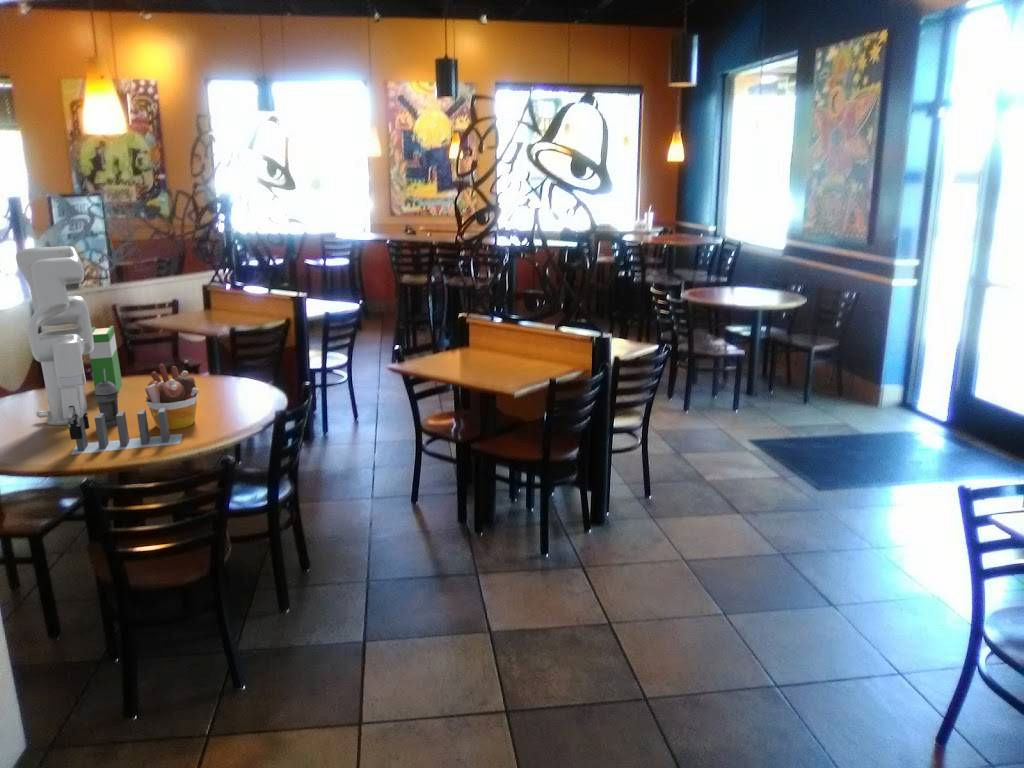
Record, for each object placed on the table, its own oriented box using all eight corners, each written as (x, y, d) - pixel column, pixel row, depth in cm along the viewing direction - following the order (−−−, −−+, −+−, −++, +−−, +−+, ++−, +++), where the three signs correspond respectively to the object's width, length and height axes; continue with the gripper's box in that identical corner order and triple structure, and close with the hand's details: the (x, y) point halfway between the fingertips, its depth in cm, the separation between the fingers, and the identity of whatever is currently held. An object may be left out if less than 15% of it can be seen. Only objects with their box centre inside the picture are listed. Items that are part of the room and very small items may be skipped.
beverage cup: (116, 421, 281) (108, 364, 276) (127, 425, 276) (118, 367, 271) (95, 426, 276) (86, 369, 270) (105, 430, 271) (96, 372, 266)
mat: (70, 456, 247) (70, 454, 247) (77, 445, 257) (77, 444, 256) (179, 445, 255) (179, 443, 255) (183, 435, 265) (182, 433, 265)
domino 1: (77, 451, 250) (72, 420, 247) (81, 446, 255) (76, 415, 252) (84, 450, 250) (79, 419, 248) (87, 445, 255) (82, 414, 252)
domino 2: (99, 449, 251) (94, 418, 249) (102, 444, 256) (97, 413, 253) (105, 448, 252) (100, 417, 249) (108, 443, 257) (104, 412, 254)
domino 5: (162, 442, 256) (157, 412, 254) (164, 437, 261) (159, 407, 258) (168, 442, 257) (164, 411, 254) (170, 437, 261) (166, 407, 259)
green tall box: (101, 386, 327) (92, 327, 321) (122, 384, 329) (113, 325, 323) (96, 397, 311) (86, 335, 305) (117, 395, 313) (108, 333, 307)
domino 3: (120, 447, 253) (115, 416, 250) (123, 441, 258) (118, 411, 255) (126, 446, 254) (122, 415, 251) (129, 441, 258) (124, 411, 256)
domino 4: (141, 444, 255) (137, 414, 252) (143, 439, 259) (139, 409, 257) (147, 444, 255) (143, 413, 252) (149, 439, 260) (145, 409, 257)
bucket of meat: (208, 428, 271) (201, 370, 266) (155, 438, 262) (147, 378, 257) (193, 414, 287) (186, 359, 282) (143, 422, 279) (135, 366, 273)
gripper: (64, 374, 254) (73, 426, 259) (50, 388, 238) (60, 444, 242) (91, 372, 256) (99, 424, 260) (79, 386, 240) (88, 441, 244)
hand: (80, 433), depth 251 cm, fingers open, 9 cm apart
